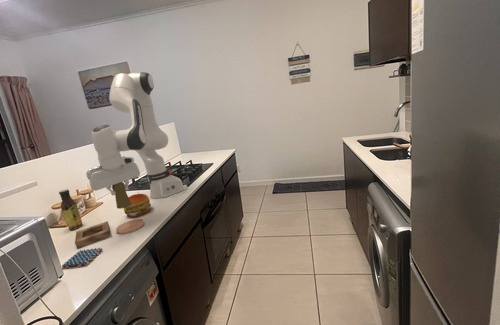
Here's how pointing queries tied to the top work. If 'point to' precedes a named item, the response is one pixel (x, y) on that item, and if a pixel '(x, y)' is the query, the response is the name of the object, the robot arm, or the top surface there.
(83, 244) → the brown wooden tray
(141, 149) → the robot arm
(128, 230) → the saucer
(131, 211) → the burger
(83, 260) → the woven mat
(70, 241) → the top surface
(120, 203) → the cork
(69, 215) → the sauce bottle
